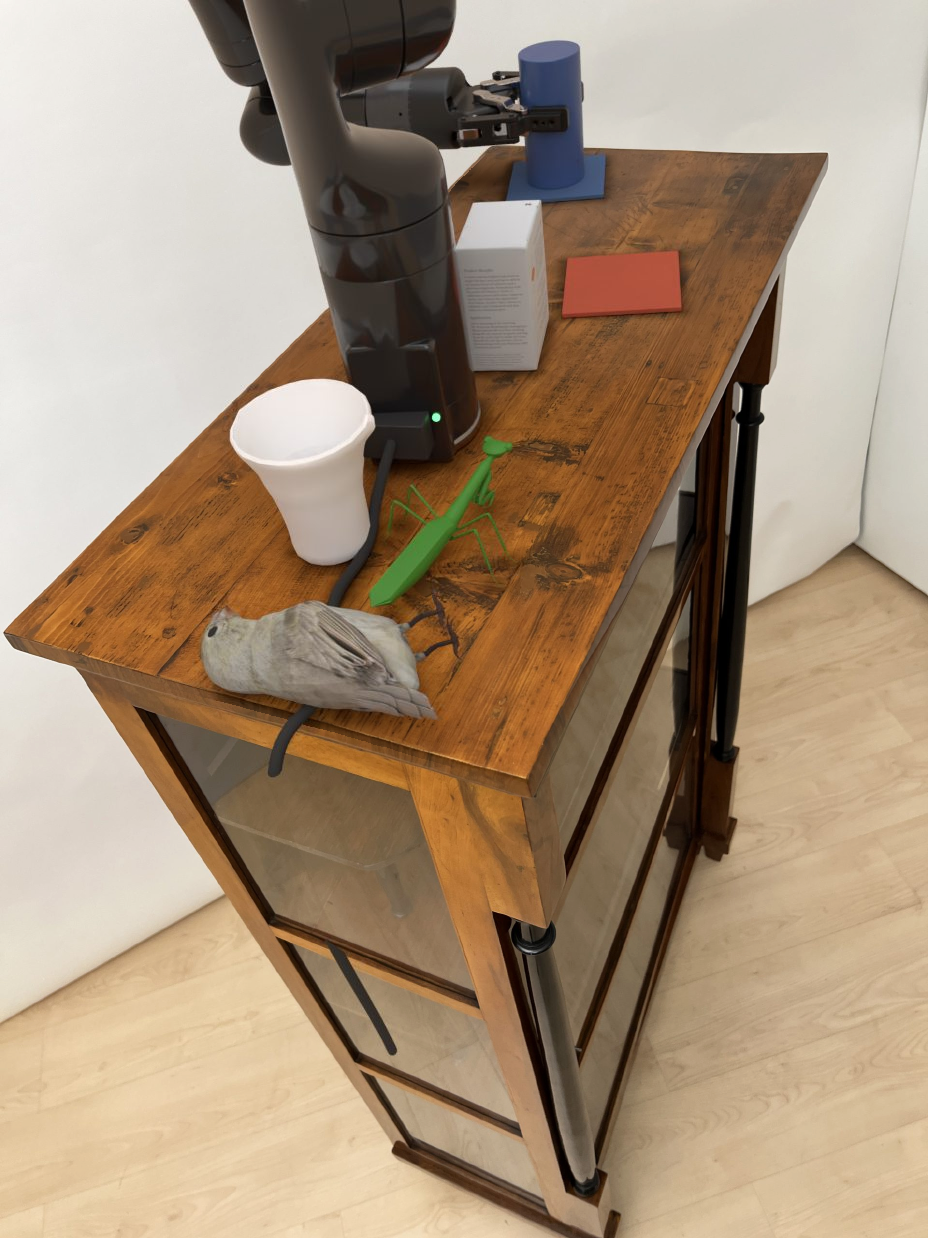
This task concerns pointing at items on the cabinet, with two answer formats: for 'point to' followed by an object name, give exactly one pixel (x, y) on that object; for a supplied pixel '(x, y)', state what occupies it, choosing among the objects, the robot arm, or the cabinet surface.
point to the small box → (504, 284)
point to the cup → (311, 462)
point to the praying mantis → (438, 530)
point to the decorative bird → (322, 657)
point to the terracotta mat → (622, 284)
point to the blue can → (548, 82)
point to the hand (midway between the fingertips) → (575, 104)
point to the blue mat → (582, 190)
